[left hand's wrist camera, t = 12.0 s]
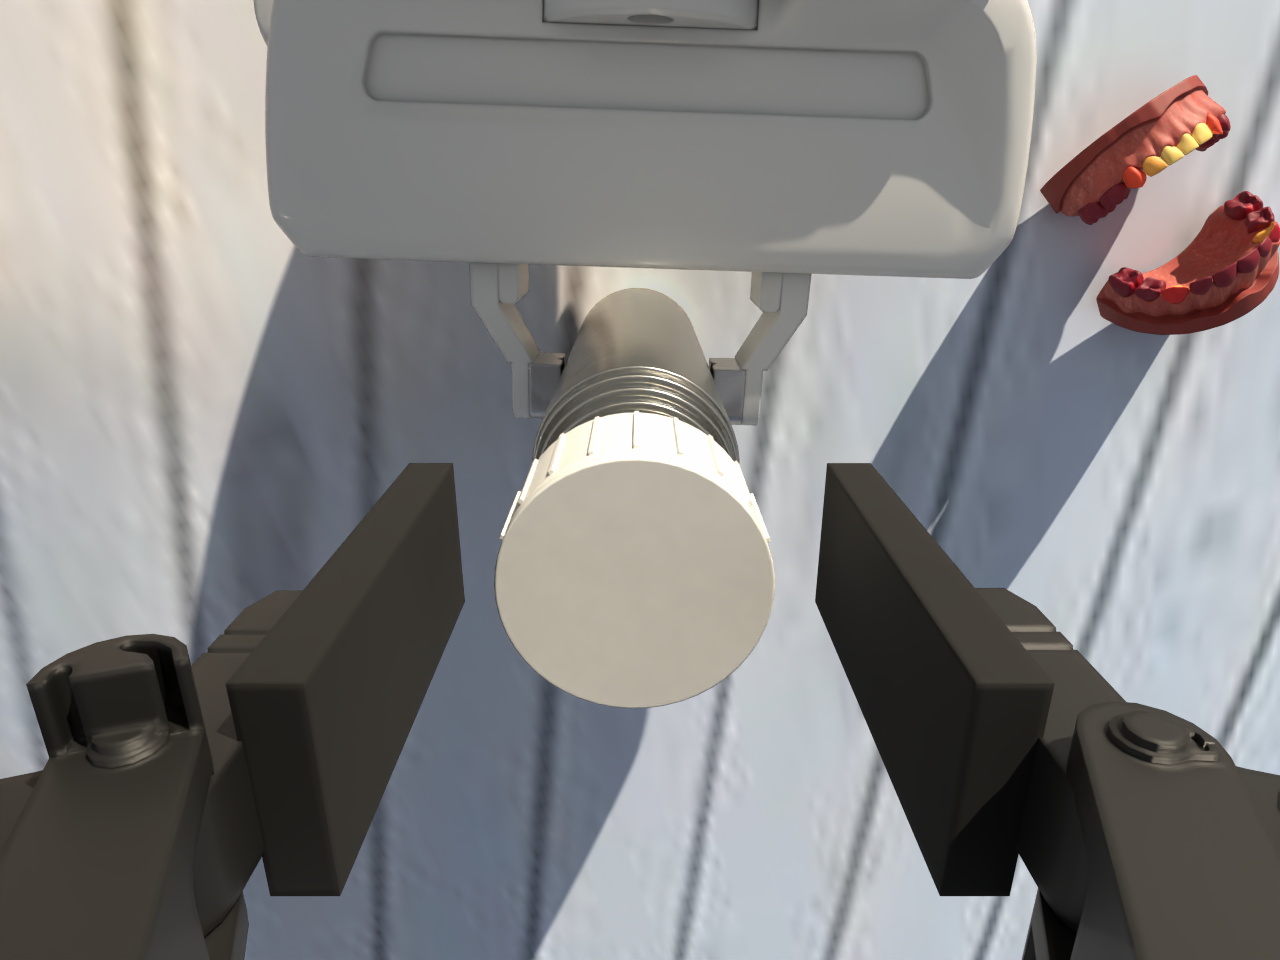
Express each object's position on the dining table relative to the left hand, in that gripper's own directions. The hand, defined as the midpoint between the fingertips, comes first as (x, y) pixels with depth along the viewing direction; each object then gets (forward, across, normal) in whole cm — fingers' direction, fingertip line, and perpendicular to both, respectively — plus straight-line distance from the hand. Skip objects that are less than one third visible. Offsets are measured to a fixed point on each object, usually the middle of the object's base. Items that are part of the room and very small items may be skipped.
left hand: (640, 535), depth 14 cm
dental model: (+18, +18, +5) cm, 26 cm away
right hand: (+11, 0, -1) cm, 11 cm away
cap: (-2, 0, 0) cm, 2 cm away
